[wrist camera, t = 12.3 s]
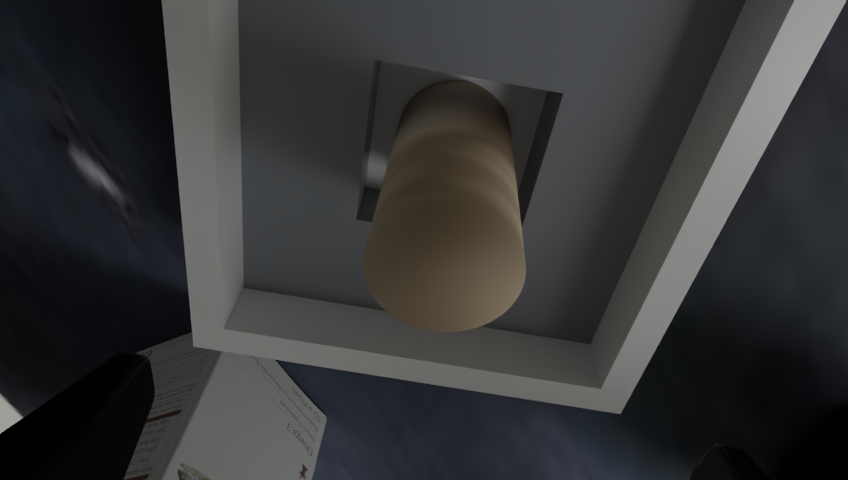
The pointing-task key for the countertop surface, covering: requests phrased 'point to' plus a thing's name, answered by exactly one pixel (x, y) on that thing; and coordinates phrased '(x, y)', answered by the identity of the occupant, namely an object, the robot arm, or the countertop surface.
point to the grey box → (533, 158)
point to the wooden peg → (448, 214)
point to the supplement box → (224, 418)
